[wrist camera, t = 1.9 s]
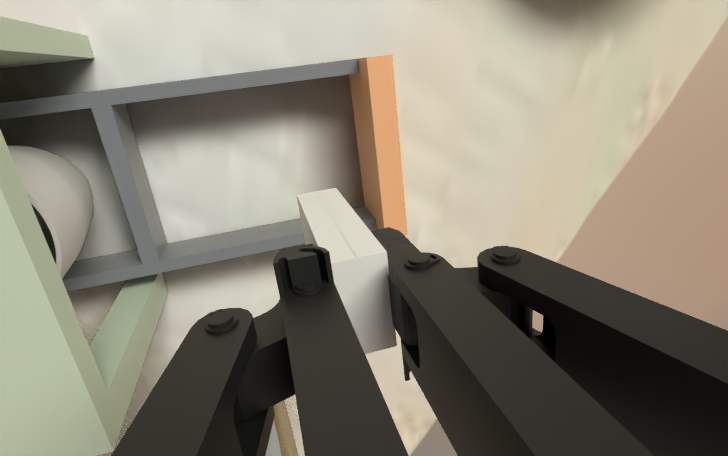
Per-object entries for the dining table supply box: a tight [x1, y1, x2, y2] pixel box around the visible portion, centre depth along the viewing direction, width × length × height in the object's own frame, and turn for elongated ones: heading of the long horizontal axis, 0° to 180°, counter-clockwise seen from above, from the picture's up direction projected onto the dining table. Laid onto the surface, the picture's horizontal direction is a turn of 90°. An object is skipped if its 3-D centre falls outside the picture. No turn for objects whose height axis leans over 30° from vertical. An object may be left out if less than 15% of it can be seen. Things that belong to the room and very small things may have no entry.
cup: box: [7, 146, 93, 278], centre depth 23 cm, size 8×8×10 cm
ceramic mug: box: [265, 400, 298, 456], centre depth 32 cm, size 11×8×8 cm
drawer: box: [0, 55, 407, 292], centre depth 26 cm, size 11×28×5 cm, turn 97°
